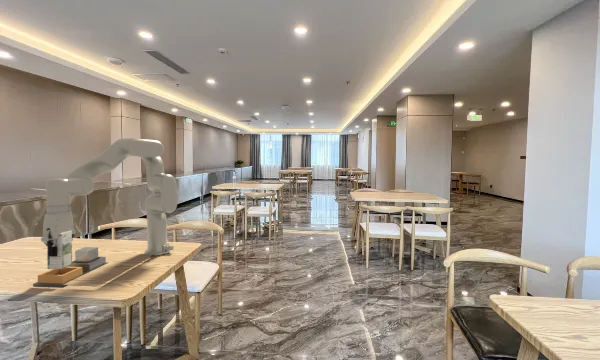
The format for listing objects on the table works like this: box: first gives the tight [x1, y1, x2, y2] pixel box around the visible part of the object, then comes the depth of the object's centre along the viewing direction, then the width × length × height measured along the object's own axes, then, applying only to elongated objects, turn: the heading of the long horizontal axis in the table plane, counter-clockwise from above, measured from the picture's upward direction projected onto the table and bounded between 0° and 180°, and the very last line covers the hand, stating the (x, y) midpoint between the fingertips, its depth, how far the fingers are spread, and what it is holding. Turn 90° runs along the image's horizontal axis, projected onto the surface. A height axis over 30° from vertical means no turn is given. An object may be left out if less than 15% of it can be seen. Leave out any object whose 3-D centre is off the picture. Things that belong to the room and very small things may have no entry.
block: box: [74, 246, 99, 263], centre depth 135 cm, size 6×6×8 cm
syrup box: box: [46, 231, 73, 270], centre depth 120 cm, size 6×6×14 cm
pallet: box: [32, 256, 110, 288], centre depth 128 cm, size 26×12×4 cm, turn 177°
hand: (60, 253), depth 120 cm, fingers closed on syrup box, 6 cm apart
